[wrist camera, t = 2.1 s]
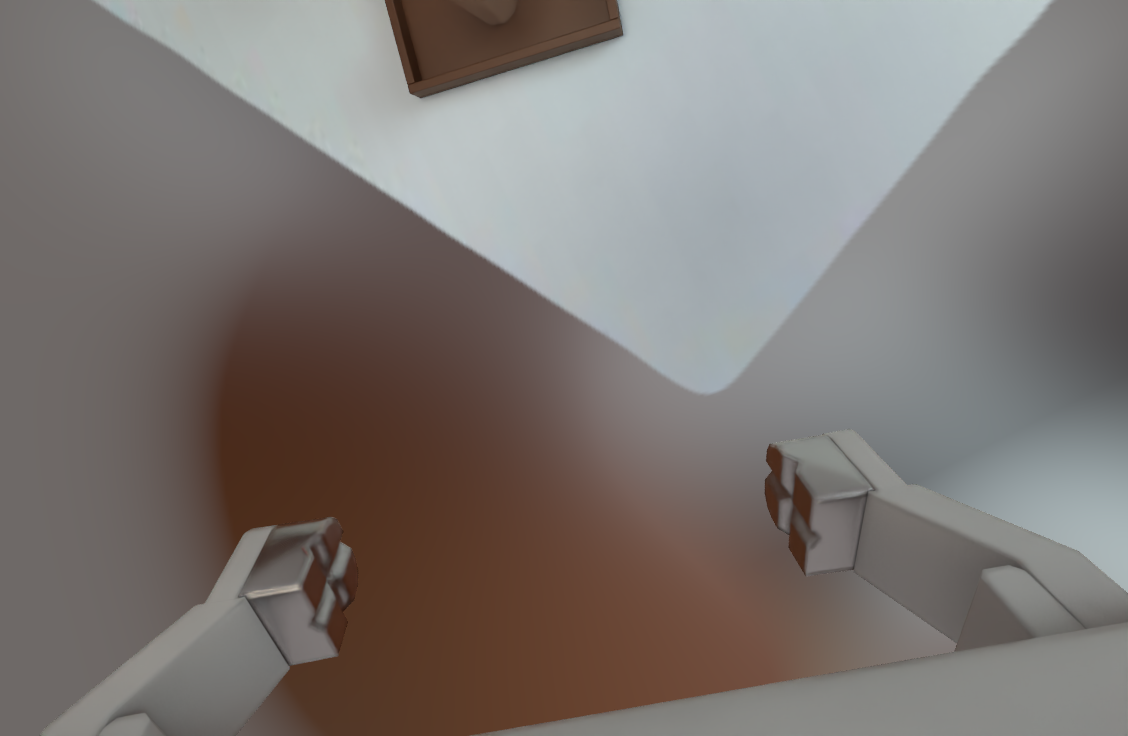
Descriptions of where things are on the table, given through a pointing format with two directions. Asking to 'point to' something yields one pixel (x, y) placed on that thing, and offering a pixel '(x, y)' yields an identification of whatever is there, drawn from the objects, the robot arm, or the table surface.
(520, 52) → the tray
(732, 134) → the table surface
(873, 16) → the table surface
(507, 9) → the milkshake
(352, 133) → the table surface
